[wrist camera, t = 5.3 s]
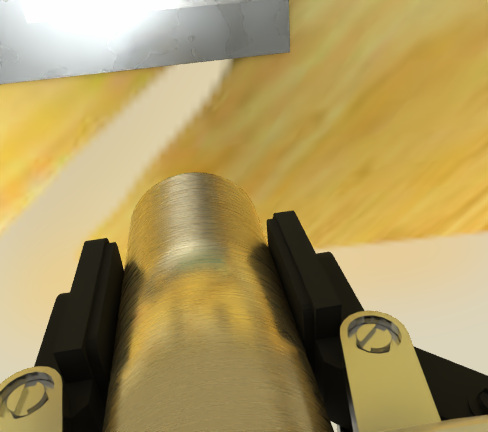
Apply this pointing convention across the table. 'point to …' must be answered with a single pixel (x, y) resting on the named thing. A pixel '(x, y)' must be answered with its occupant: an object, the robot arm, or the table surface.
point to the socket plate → (133, 34)
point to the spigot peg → (206, 321)
